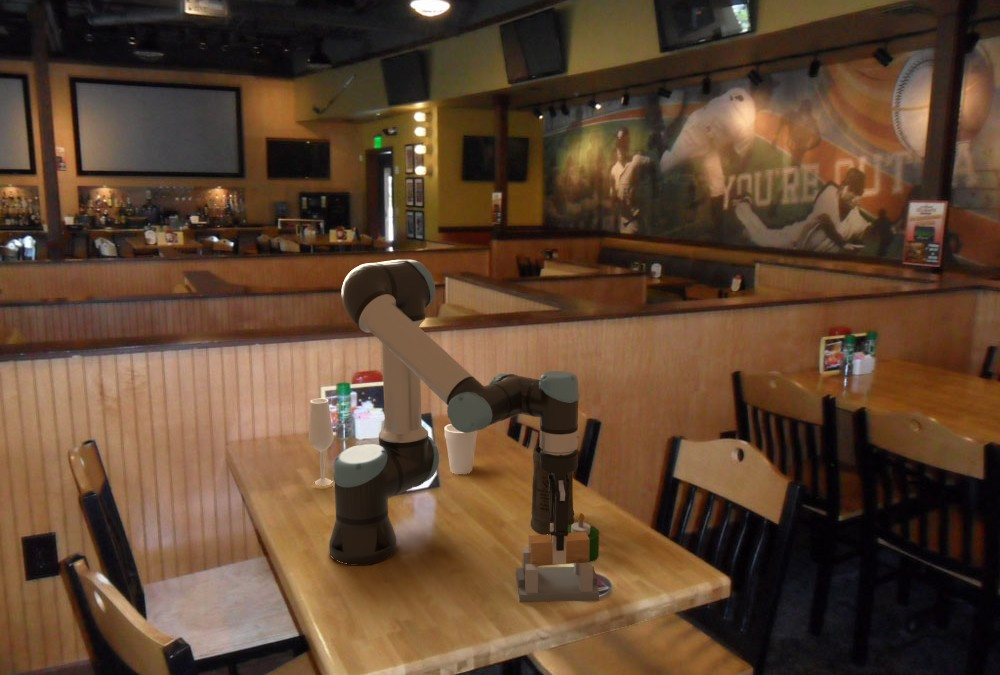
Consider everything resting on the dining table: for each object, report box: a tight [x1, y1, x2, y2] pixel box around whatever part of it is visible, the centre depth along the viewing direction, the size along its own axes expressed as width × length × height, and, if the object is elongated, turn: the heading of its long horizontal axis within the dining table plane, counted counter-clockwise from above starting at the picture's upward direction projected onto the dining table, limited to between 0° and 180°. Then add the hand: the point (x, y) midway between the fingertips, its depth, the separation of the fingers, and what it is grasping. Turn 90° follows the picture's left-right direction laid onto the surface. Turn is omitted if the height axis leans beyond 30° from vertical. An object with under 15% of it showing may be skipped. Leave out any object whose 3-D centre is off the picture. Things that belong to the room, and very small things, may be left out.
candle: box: [568, 512, 600, 563], centre depth 173 cm, size 8×8×10 cm
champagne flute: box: [308, 397, 335, 486], centre depth 211 cm, size 7×7×24 cm
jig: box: [515, 546, 600, 603], centre depth 159 cm, size 16×11×6 cm
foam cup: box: [444, 423, 478, 475], centre depth 222 cm, size 10×9×13 cm
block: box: [528, 532, 590, 567], centre depth 158 cm, size 12×4×5 cm, turn 97°
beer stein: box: [530, 445, 575, 535], centre depth 188 cm, size 15×11×20 cm
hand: (557, 557), depth 158 cm, fingers closed on block, 4 cm apart
